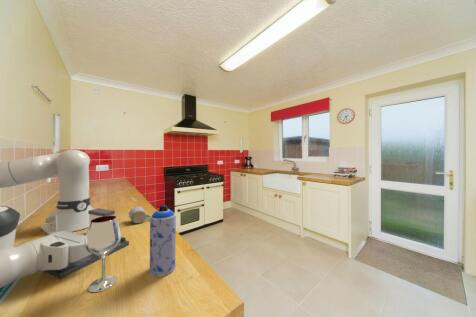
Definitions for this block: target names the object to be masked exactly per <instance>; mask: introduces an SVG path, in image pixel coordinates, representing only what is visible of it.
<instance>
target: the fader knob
mask: <svg viewBox="0 0 476 317" xmlns="http://www.w3.org/2000/svg"><path fill="white" fill-rule="evenodd" d="M88 214H89V224H90V221H91V220H93V219H95V218H98V217H103V216H115V215H116V213H115V210H111V209H106V208H99V207H98V208H94V209H93V210H89V211H88Z"/></svg>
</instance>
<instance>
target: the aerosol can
mask: <svg viewBox="0 0 476 317" xmlns="http://www.w3.org/2000/svg"><path fill="white" fill-rule="evenodd" d="M158 208H159V209H157V210H156V211H154V212H153V213H152V214H151V215H150V216H151V218H150V220H149V269H148V274H149V275H150V277H153V278H161V277H167V276H168V275H170V274H172V273H173V272H174V271H175V269H176V268H177V264H176V241H177V240H176V238H177V237H176V236H177V235H176V233H177V232H176V226H177V218H176V213H175V212H174V211H173V210H171V209H169V208H168V205H166V204H161V205H159V206H158Z"/></svg>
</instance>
